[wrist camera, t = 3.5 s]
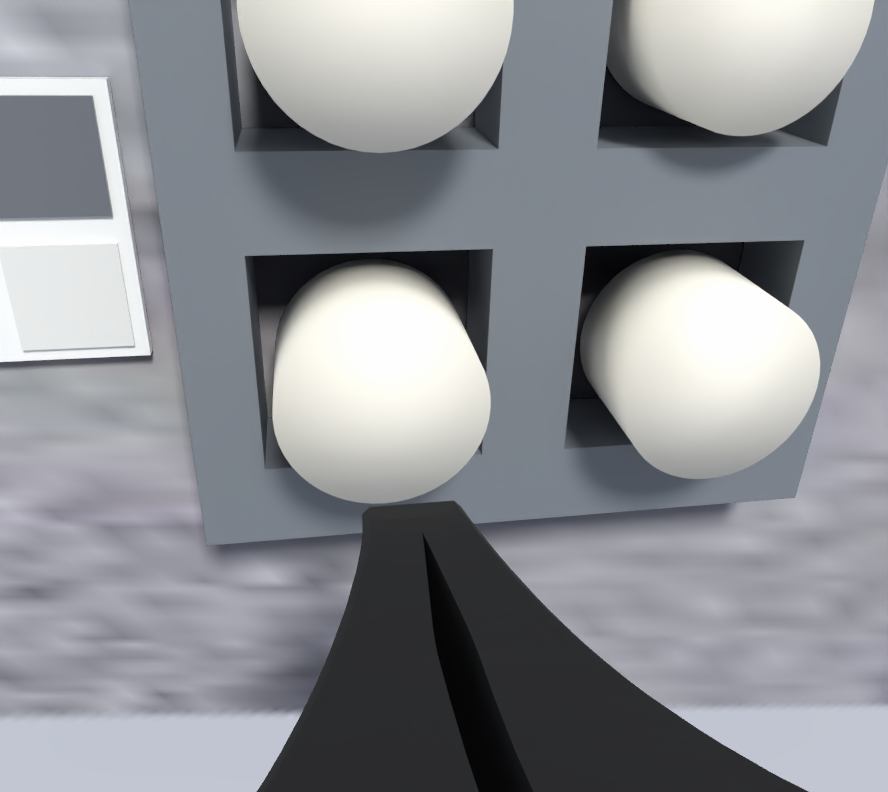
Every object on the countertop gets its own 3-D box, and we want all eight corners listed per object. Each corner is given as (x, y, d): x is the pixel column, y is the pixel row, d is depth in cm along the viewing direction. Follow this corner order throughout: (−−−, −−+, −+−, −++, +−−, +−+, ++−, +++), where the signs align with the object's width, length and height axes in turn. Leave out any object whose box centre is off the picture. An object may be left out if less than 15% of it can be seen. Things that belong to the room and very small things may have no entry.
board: (914, -246, 16) (1008, -277, 14) (750, 450, 23) (795, 497, 21) (110, -305, 14) (78, -354, 11) (214, 487, 21) (206, 545, 19)
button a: (807, -108, 16) (905, -120, 14) (764, 110, 18) (842, 135, 16) (609, -116, 16) (672, -131, 13) (586, 110, 18) (637, 136, 15)
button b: (480, -128, 14) (522, -148, 12) (471, 120, 16) (505, 151, 14) (235, -139, 14) (221, -163, 11) (256, 121, 16) (249, 153, 13)
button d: (465, 255, 18) (496, 307, 15) (459, 424, 20) (485, 495, 17) (268, 262, 17) (264, 316, 14) (282, 435, 19) (280, 511, 16)
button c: (765, 247, 19) (842, 293, 16) (730, 407, 21) (794, 472, 18) (590, 252, 18) (640, 301, 15) (571, 417, 20) (613, 485, 17)
